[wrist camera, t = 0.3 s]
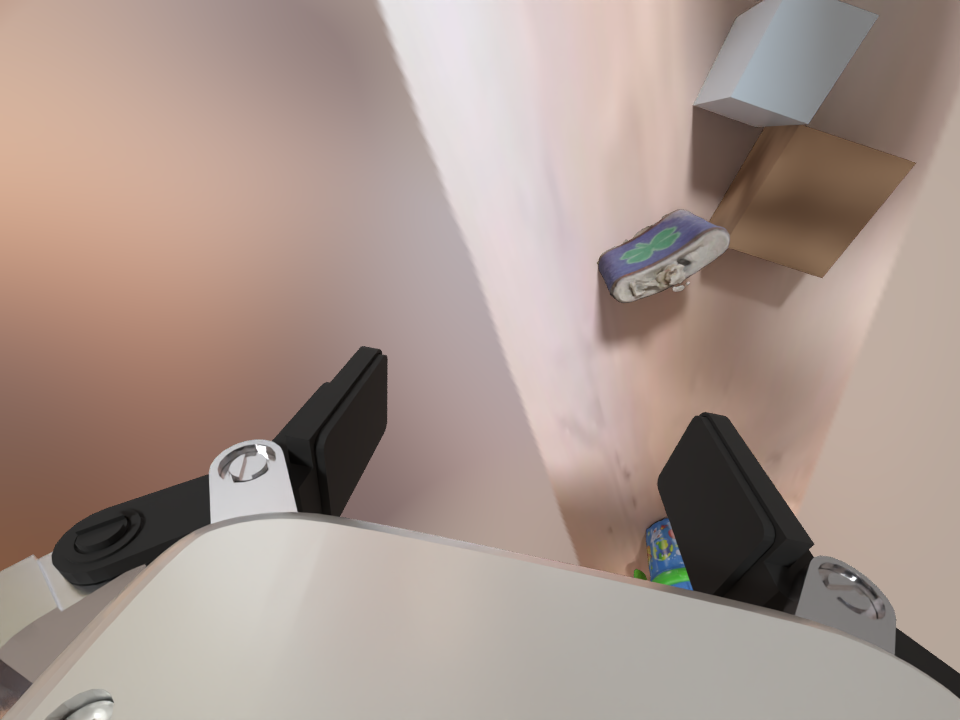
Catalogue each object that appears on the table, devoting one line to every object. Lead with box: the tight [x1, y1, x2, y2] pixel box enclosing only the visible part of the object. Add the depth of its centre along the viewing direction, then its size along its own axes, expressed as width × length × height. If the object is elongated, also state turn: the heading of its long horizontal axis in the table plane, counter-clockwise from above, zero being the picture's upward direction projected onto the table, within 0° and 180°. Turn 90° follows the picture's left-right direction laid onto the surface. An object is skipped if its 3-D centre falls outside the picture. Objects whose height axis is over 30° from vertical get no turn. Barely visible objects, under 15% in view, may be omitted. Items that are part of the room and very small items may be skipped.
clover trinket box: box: [597, 209, 730, 303], centre depth 32 cm, size 9×3×11 cm, turn 126°
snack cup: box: [634, 518, 693, 591], centre depth 53 cm, size 16×10×10 cm
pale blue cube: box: [693, 0, 879, 127], centre depth 26 cm, size 6×6×7 cm
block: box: [709, 125, 916, 278], centre depth 31 cm, size 9×9×5 cm
